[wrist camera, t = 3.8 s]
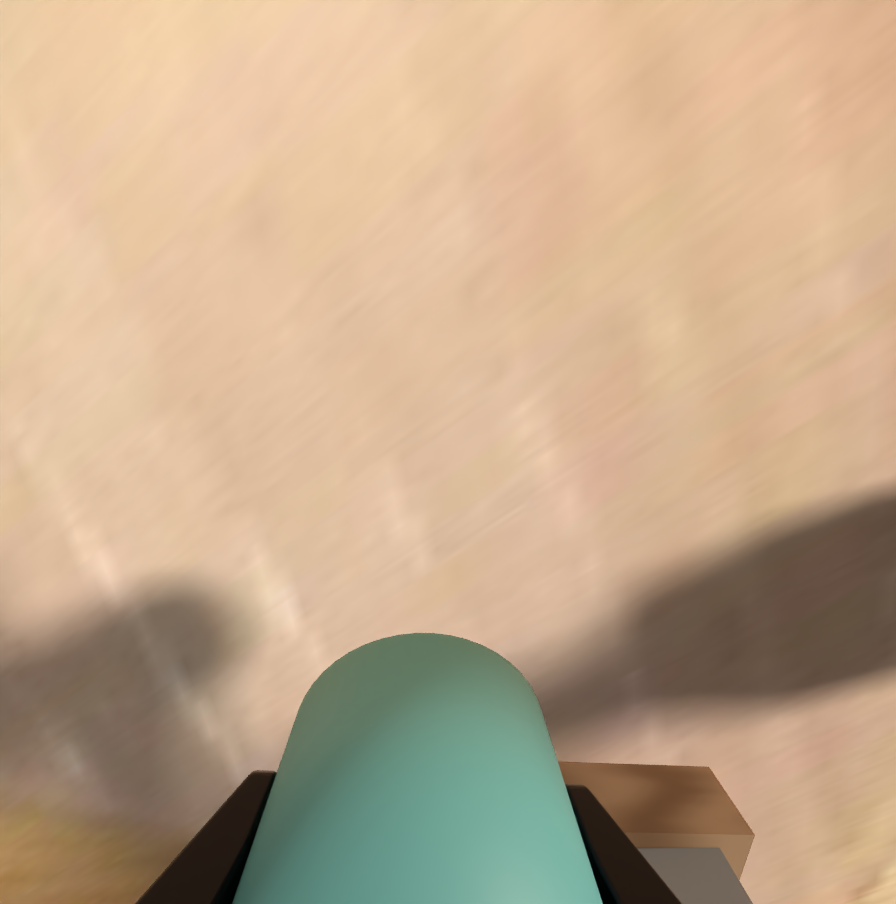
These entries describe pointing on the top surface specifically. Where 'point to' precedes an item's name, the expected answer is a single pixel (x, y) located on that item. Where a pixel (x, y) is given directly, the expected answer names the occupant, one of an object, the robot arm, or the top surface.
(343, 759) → the teal bullet block
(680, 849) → the grey square block
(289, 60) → the top surface
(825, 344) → the top surface
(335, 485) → the top surface
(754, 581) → the top surface
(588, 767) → the walnut base block
